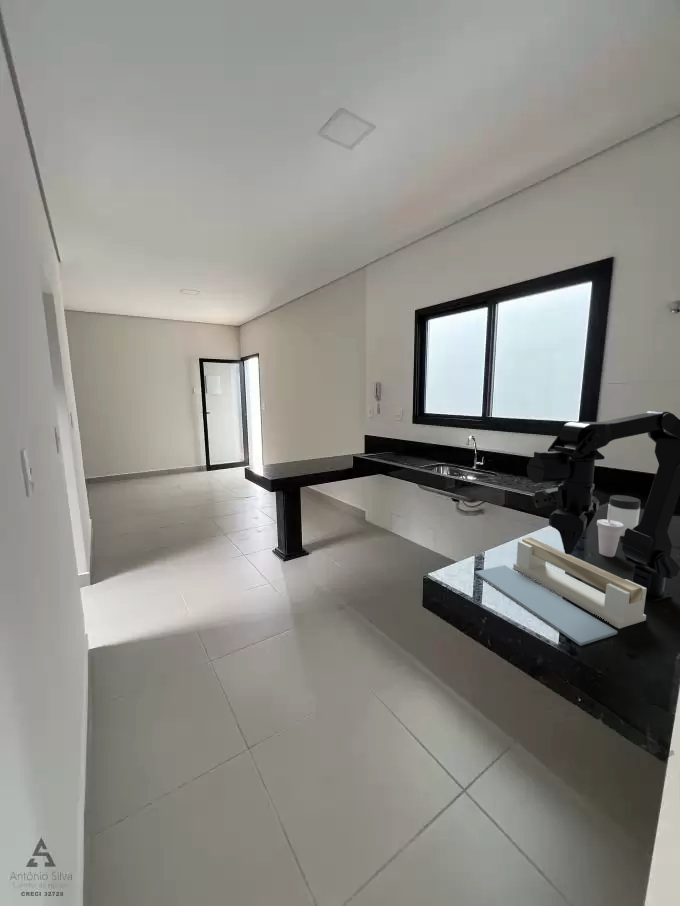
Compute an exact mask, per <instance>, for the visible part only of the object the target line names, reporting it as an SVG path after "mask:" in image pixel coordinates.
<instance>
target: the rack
mask: <svg viewBox="0 0 680 906" xmlns="http://www.w3.org/2000/svg"><path fill="white" fill-rule="evenodd" d="M533 539H536V540H538V541H540V542H542V543H545V544H547V545H548V543H547V542H544V541H542V540H539V539H538V538H533ZM516 549H517V550H516V562H514V563H513V566H512V568H513V569H515V571H516V570H517V572H518V571H519V572H520V573H522V574H523V575H525V576H527V577H528V578H529V579H532V580H534V581H535V582H538V583H539V584H540V585H542V586H543V587H546V588H547V589H550V590H551V591H553V592H554V593H557V594H558V595H559V596H562V597H563V598H565V599H567V600H569V601H570V602H572V603H574V604H576V605H578V606H579V607H580V608H583V609H584V610H586V611H588V612H589V613H591V614H593V615H594V614H595V615H594V616H596V615H597V616H596V617H598V616H599V617H598V618H600V617H601V618H602V619H601V618H600V619H601V620H603V619H604V620H603V621H605V622H606V621H607V623H608V622H609V624H610V625H612V626H614V627H615V628H617V629H623V628H625V627H628V626H632V625H635V624H638V623H642V622H644V621H646V620H647V615H646V614H645V613H644V612H645V611H644V610H645V605H646V590H647V588H645V587H643V586H640V585H638V584H636V583H634V582H632V580H629V579H624V580H627V581H629V582H631V583H633V584H636V585H638V586H640V587H642V592H641V600H640V601H638V602H635V603H631V604H630V603H629V597H630V593H629V592H627V591H625V590H623V589H621V588H619V587H617V586H614V585H612V584H610V583H609V584H607V585H606V591H605V593H604V592H602V591H601V590H598V589H596V588H594V587H592V586H589V584H586V583H584V582H582V581H580V580H578V579H576V578H574V577H573V576H571V575H568V573H565V572H562V571H560V570H559V569H556V568H555V567H552V566H550V565H549V564H547V563H546V561H544V560H542V559H540V558H538V557H536V556H534V555H532V550H533V546H530V545H528V544H526V543H524V542H522V540H518V541H517V547H516Z"/></svg>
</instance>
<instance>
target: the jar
mask: <svg viewBox="0 0 680 906" xmlns="http://www.w3.org/2000/svg"><path fill="white" fill-rule="evenodd" d="M609 508H612V509H611V518H610V520H613V521H617V522H620V523H622V524H623V525H624V529H622V531H621V535H620V537H624V535H625V530H626V529H627V528H630V529H633V528H634V527H636V526H637V525H638V524H639V522H640V521H639V520H640V513H641V512H640V511H641V499H639V498H637V497H633V496H631V495H621V494H615V495H611V496H610V497H609V504H608V508H607V514H606V515H607V516H606V519H607V520H608V515H609Z"/></svg>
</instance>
